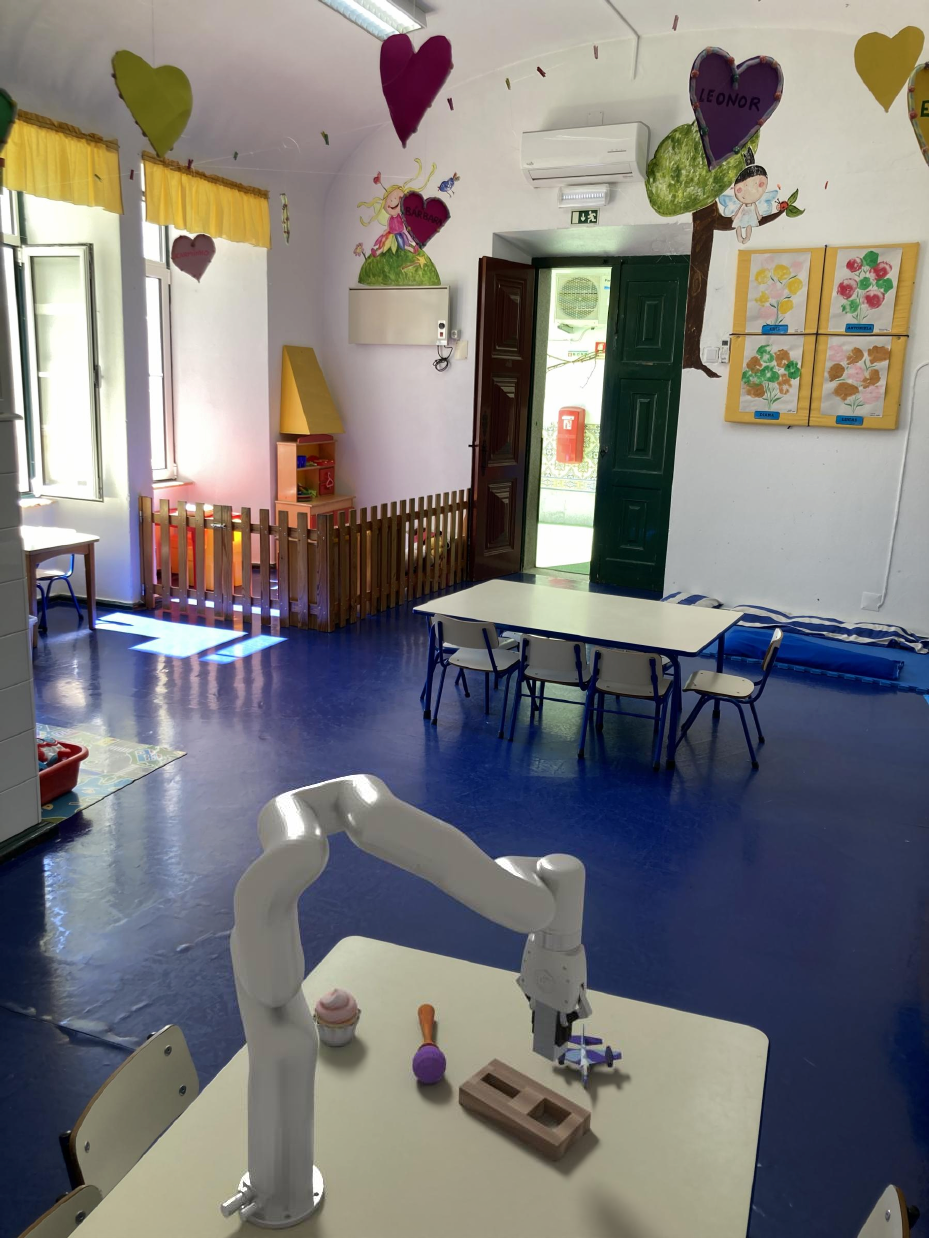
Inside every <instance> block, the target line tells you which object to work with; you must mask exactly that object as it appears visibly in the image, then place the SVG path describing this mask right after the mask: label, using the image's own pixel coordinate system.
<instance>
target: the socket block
mask: <svg viewBox="0 0 929 1238" xmlns="http://www.w3.org/2000/svg"><path fill="white" fill-rule="evenodd" d="M458 1103H459V1104H461V1105H463V1106H464V1107H465V1108H467V1109H469V1110H471V1111H472V1112H474V1113H475V1114H477V1115H479V1116H480V1117H482V1118H484V1119H486V1120H487V1121H488V1122H490V1123H491V1124H493V1125H495V1126H496V1127H498V1128H500V1129H501V1130H503V1131H505V1132H506V1133H508V1134H509V1135H511V1136H513V1137H514V1138H515V1139H517V1140H519V1141H521V1142H523V1143H524V1144H526V1145H527V1146H529V1147H530V1148H532V1149H534V1150H535V1151H537V1152H538V1153H540V1154H542V1155H543V1156H545V1157H547V1158H548V1159H550V1160H551V1161H553V1162H555V1163H557V1162H558V1161H559V1160H560V1159H561V1158H562V1157H563V1156H564V1155H565V1154H566V1153H567V1152H568V1151H569V1150H570V1149H571V1148H572V1147H573V1146H574V1145H575V1144H576V1143H577V1141H579V1140H580V1139H581V1137H583V1136H584V1135H585V1134H586V1133H587V1131H589V1129H590V1128H591V1119H592V1118H591V1117H592V1112H591V1111H589V1110H588V1109H586V1108H584V1107H583V1106H581V1105H579V1104H577V1103H575V1102H573V1101H572V1100H570V1099H568V1098H566V1097H565V1096H564V1095H561V1094H559V1093H558V1092H555V1091H554V1090H552V1089H550V1087H548V1086H545V1085H543V1084H542V1083H540V1082H539V1081H536V1080H535V1079H533V1078H531V1077H529V1076H528V1075H526V1074H524V1073H523V1072H520V1071H519V1070H517V1069H516V1068H514V1067H511V1066H510V1065H508V1064H506V1063H504V1062H503V1061H501V1060H500V1059H497V1058H496V1057H495V1058H493V1059H492V1060H490V1062H488V1063H487V1064H486V1065H485V1066H483V1067H482V1068H481V1069H479V1070H478V1071H477V1072H476V1073H474V1075H472V1076H471V1077H469V1079H467V1080H466V1081H465V1082H463V1083H462V1084H461V1085H459V1086H458ZM543 1114H545V1115H547V1116H548V1117H550V1118H551V1119H554V1120H555V1121H557V1122H559V1123H560V1124H559V1125H558V1126H557V1127H556V1128H555V1129H554V1130H552V1129H550V1128H549V1127H548V1126H546V1125H544V1124H543V1123H540V1122H539V1121H537V1119H538V1118H540V1117H541V1116H542V1115H543Z"/></svg>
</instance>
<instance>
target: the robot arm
mask: <svg viewBox="0 0 929 1238" xmlns="http://www.w3.org/2000/svg"><path fill="white" fill-rule="evenodd" d="M256 823H257V824H256V826H257V827H256V829H257V834H258V838H259V841H260V843H261V847H262V849H263V853H262V854H261V855H260V856H259V857H258V858H257V859H255V860H254V861H253V862H252V863H251V864H250V865H249V867H248V868H247V869H246V871H245V872H244V873H243V874H242V876H241V877H240V879H239V881H238V882H237V883H236V884H237V885H236V887H235V889H234V895H233V913H234V926H233V928H232V930H231V933H230V937H229V938H230V939H229V947H230V956H231V962H232V968H233V969H232V971H233V975H234V983H235V988H236V990H235V991H236V996H237V1002H238V1007H239V1012H240V1013H239V1014H240V1017H241V1022H242V1024H243V1025H242V1026H243V1031H244V1035H245V1040H246V1046H247V1052H248V1053H247V1054H248V1078H247V1172H246V1173H245V1175H244V1176H243V1177H242V1178H241V1180H240V1183H239V1185H238V1188H237V1193H236V1195H234V1196H233V1197H230V1198H229V1199H227V1200H225V1202H223V1203H222V1204H221V1205H220V1211H221V1214H222V1216H223V1217H224V1218H225V1219H228V1218H229V1217H231V1216H232V1215H234V1214H235V1213H236V1212H237V1211H239V1217H240V1220H242V1221H244V1222H245V1221H249V1222H251V1224H253V1225H255V1226H258V1227H262V1228H266V1229H283V1228H290V1227H292V1226H295V1225H298V1224H300V1223H302V1222H303V1221H305V1220H307V1219H308V1218H309V1217H311V1216H312V1215H313V1214H314V1213H315V1212H316V1210H317V1209H318V1208H319V1207H320V1205H321V1203H322V1200H323V1198H324V1190H325V1188H324V1187H325V1185H324V1179H323V1176H322V1173H321V1172H320V1170H319V1169H318V1167H316V1166H315V1165H314V1162H315V1161H314V1159H315V1158H314V1157H315V1155H314V1153H315V1152H314V1151H315V1148H314V1145H315V1143H314V1142H315V1081H316V1080H315V1079H316V1078H315V1077H316V1069H317V1063H318V1057H319V1038H318V1037H319V1036H318V1031H317V1027H316V1023H315V1022H314V1020H313V1018H312V1015H313V1014H312V1013H311V1010H310V1007H309V1004H308V1002H307V1000H306V997H305V993H304V991H303V988H302V985H303V982H304V978H305V970H306V969H305V956H304V951H303V947H302V942H301V935H300V928H299V927H300V926H299V920H298V919H299V917H298V916H299V914H298V901H299V898H300V896H301V895H302V894H303V892H304V891H305V890H306V889H307V888H308V887H310V886H311V884H312V883H314V882H315V881H316V880H318V878H319V877H320V876H321V874H322V873H323V871H324V869H325V868H326V867H327V863H328V861H329V856H330V845H329V844H330V843H329V840H328V837H327V836H330V835H335V834H337V833H340V832H344V831H345V833H346V834H347V836H348V838H349V839H350V841H351V842H352V843H353V844H354V846H357V848H359V849H360V850H362V851H364V852H366V853H368V854H370V855H372V856H375V857H376V858H378V859H380V860H383V861H385V862H387V863H390V864H392V865H394V866H396V867H398V868H400V869H403V870H405V871H406V872H410V873H411V874H414V875H416V876H418V877H420V878H421V879H423V880H426V881H428V882H430V883H431V884H433V885H434V886H436V887H437V888H438V889H439V890H441V891H442V892H444V893H445V894H447V895H449V896H451V897H452V898H453V899H455V900H457V901H459V902H460V903H461V904H464V905H465V906H466V907H468V908H469V909H471V910H472V911H475V912H476V913H477V914H479V915H481V916H483V917H484V918H486V919H488V920H489V921H492V922H494V923H496V924H497V925H500V926H502V927H504V928H507V929H510V930H512V931H514V932H516V933H520V934H528V937H527V940H526V943H525V945H524V946H525V947H524V950H523V953H522V954H523V955H522V959H521V960H522V961H521V968H520V975H519V976H518V977H517V978H516V980H515V982H516V984H517V986H518V987H519V988H520V989H521V991H522V993H523V994H524V996H525V998H526V999H527V1001H528V1002H529V1005H528V1007H529V1010H531V1024H532V1025H531V1033H532V1034H533V1035H534V1019H535V1001H536V1000H538V1001H540V1002H542V1003H544V1004H546V1005H548V1006H550V1007H552V1008H554V1009H556V1010H558V1011H559V1013H560V1023H559V1024H558V1025H557V1039H556V1045H557V1046H558V1047H561V1046H562V1045H563V1044H565V1043H566V1042H568V1041H569V1040H570V1039H571V1036H572V1034H573V1022H576V1021H577V1020H583V1019H585V1020H586V1019H587V1018H589V1017H590V1016H592V1015H593V1010H592V1007H591V1005H590V1003H589V1000H588V998H587V990H588V989H587V988H588V987H587V983H588V979H587V978H588V977H587V973H588V972H587V958H586V957H587V956H586V953H585V946H584V944H583V943H582V931H583V930H582V928H583V914H584V904H585V903H584V900H585V887H586V886H585V885H586V868H585V866H584V864H583V862H582V861H581V860H580V859H579V858H578V857H575V856H573V855H571V854H568V853H567V854H565V853H552V854H547V855H545V856H544V857H542V856H541V857H539V856H538V857H537V856H536V857H535V856H534V857H533V856H522V855H521V856H519V855H518V856H516V855H507V856H501V857H497V858H496V859H493V858H491V857H490V856H489V855H488V854H486V853H485V852H484V851H483V850H482V849H481V848H480V847H478V845H477V844H475V842H474V841H473V840H471V838H469V837H468V836H467V835H466V834H465V833H464V832H462V831H461V830H459V829H458V828H456V826H454V825H452V824H450V823H448V822H445V821H443V820H442V819H439V818H437V817H435V816H433V815H431V814H429V813H427V812H426V811H423V810H421V809H419V808H417V807H415V806H413V805H411V804H409V803H407V802H406V801H403V800H402V799H399V798H398V797H396V796H395V795H394V794H393V793H392V791H391V790H390V789H389V787H387V785H386V784H385V782H384V781H383V780H382V779H381V778H380V777H377V776H376V775H372V774H368V773H367V774H365V773H359V774H352V775H351V774H350V775H346V776H341V777H338V778H335V779H330V780H326V781H324V782H323V781H322V782H320V783H316V784H312V785H309V786H305V787H301V788H298V789H294V790H289V791H287V792H283V793H281V794H279V795H276V796H275V797H273V798H271V799H270V800H269V801H268V802H267V803H265V805H264V806H263V807H262V809H261V810H260V812H259V814H258V817H257V822H256ZM577 1006H578V1008H576V1007H577ZM568 1043H569V1042H568Z"/></svg>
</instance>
